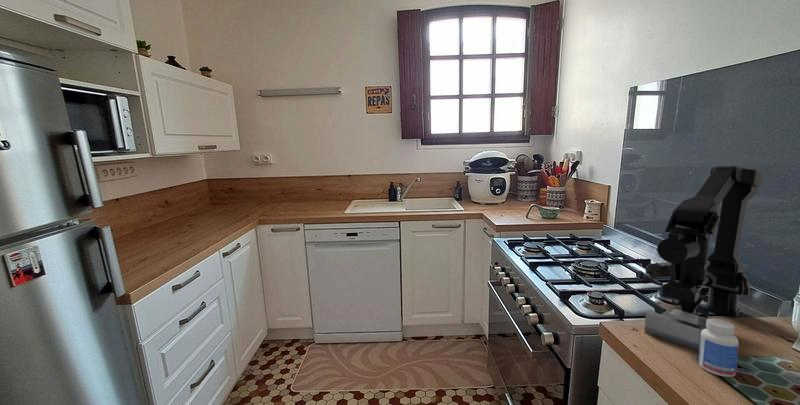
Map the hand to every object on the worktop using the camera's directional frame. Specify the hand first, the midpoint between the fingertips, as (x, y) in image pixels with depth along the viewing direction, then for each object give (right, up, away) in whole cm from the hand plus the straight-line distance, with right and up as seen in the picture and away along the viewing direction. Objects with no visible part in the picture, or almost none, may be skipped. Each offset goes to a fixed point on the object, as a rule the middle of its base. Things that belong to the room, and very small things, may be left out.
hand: (686, 317), depth 80 cm
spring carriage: (-3, -1, 0) cm, 4 cm away
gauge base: (-1, -3, 0) cm, 3 cm away
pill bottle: (-8, -5, -15) cm, 18 cm away
